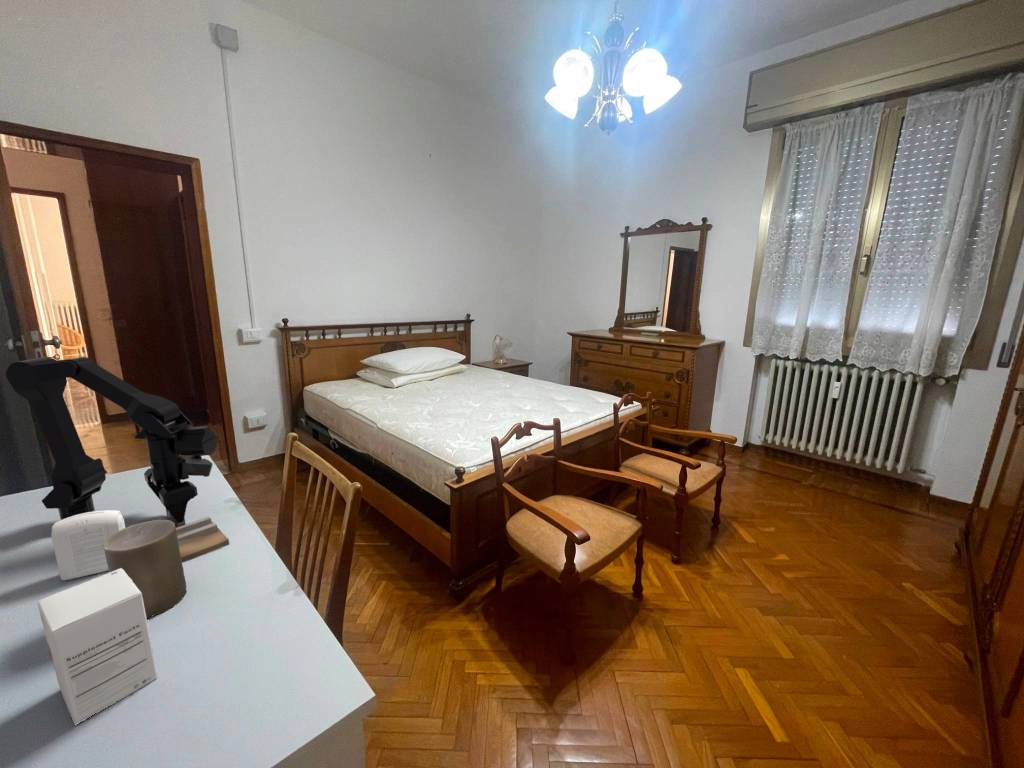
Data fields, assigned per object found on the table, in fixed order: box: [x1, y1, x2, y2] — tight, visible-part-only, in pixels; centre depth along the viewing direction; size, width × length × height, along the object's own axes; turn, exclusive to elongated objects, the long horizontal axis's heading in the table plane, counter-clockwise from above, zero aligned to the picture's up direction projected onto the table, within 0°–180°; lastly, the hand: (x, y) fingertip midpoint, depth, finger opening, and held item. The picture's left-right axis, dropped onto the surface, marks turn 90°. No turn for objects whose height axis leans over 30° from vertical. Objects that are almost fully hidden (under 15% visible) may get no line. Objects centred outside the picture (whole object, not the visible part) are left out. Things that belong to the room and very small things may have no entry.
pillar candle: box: [103, 519, 188, 618], centre depth 75 cm, size 10×10×15 cm
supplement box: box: [37, 568, 158, 725], centre depth 59 cm, size 9×9×15 cm
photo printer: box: [50, 509, 126, 581], centre depth 83 cm, size 10×4×12 cm, turn 123°
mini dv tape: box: [165, 508, 187, 528], centre depth 101 cm, size 8×2×6 cm, turn 53°
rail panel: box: [176, 516, 230, 564], centre depth 92 cm, size 14×12×3 cm
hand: (175, 515), depth 101 cm, fingers open, 9 cm apart
